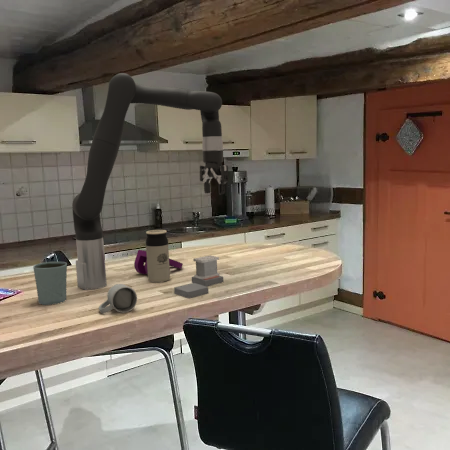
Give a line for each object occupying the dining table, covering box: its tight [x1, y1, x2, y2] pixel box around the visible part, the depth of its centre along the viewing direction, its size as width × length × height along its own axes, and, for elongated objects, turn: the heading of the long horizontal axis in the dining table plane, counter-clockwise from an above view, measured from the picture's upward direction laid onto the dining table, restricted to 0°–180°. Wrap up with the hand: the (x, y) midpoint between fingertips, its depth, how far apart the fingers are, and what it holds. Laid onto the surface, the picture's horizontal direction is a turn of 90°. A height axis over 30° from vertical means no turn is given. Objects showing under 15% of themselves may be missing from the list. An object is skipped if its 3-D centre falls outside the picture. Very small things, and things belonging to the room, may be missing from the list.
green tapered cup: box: [32, 261, 68, 306], centre depth 161 cm, size 10×10×12 cm
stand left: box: [173, 282, 210, 299], centre depth 164 cm, size 8×8×2 cm
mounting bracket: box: [133, 249, 184, 275], centre depth 195 cm, size 9×8×18 cm
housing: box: [192, 254, 221, 280], centre depth 176 cm, size 8×5×7 cm, turn 129°
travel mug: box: [145, 229, 171, 283], centre depth 182 cm, size 8×8×18 cm
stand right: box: [191, 275, 224, 287], centre depth 177 cm, size 8×8×2 cm
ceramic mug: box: [98, 283, 138, 314], centre depth 149 cm, size 11×8×8 cm
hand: (214, 193), depth 186 cm, fingers open, 8 cm apart
